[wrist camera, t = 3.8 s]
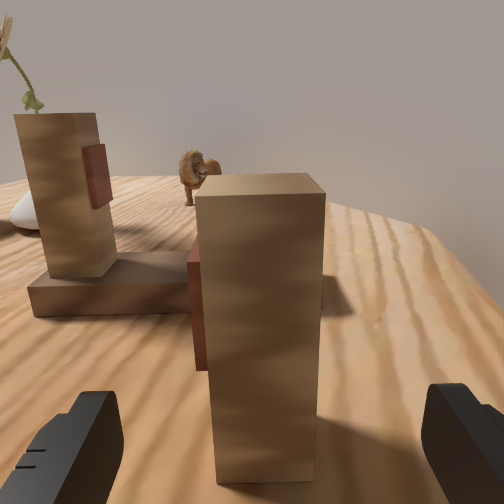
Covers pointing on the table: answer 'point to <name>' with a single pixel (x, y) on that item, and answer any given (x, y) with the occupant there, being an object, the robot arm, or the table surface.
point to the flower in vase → (24, 208)
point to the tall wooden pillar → (259, 320)
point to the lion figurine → (196, 172)
